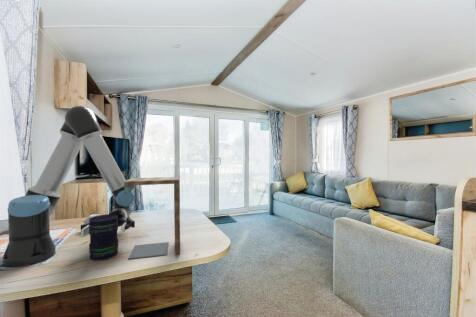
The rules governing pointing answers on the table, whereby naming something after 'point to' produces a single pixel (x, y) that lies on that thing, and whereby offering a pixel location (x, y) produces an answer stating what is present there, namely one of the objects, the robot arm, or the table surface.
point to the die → (90, 217)
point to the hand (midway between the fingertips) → (102, 232)
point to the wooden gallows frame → (131, 183)
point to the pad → (149, 250)
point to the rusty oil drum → (103, 237)
